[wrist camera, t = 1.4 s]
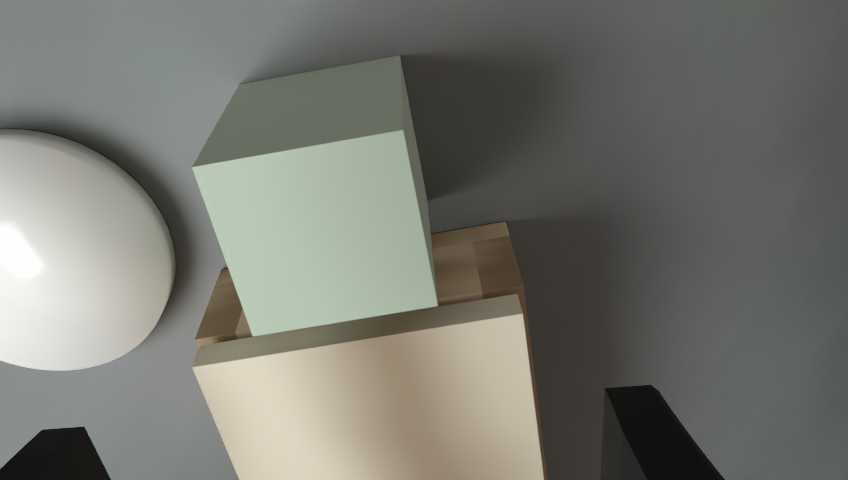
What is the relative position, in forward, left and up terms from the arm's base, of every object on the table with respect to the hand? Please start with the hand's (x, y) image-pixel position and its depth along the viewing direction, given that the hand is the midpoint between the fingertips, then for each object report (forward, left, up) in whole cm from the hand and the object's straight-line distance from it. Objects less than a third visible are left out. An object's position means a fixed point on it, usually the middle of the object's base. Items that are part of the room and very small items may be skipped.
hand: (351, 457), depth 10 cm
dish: (-9, -1, -10) cm, 14 cm away
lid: (-1, -9, -7) cm, 11 cm away
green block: (-1, +1, -10) cm, 10 cm away
